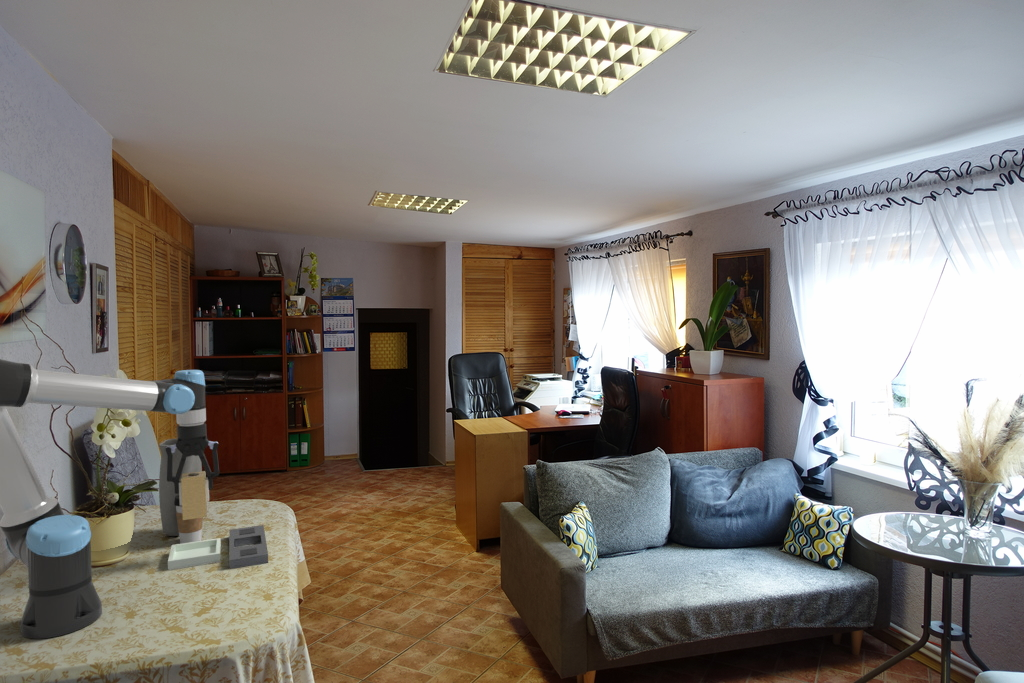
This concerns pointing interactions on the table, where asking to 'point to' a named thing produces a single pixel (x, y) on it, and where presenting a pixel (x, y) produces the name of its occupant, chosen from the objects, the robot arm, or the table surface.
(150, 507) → the table surface
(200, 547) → the parts tray
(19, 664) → the table surface
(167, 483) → the vase
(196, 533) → the coffee cup
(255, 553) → the rail
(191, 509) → the block
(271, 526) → the table surface
